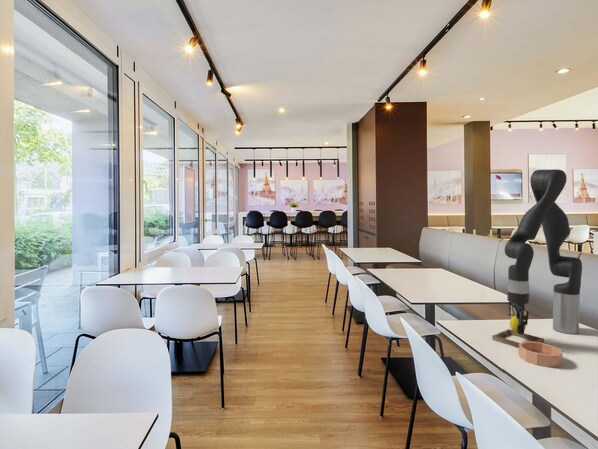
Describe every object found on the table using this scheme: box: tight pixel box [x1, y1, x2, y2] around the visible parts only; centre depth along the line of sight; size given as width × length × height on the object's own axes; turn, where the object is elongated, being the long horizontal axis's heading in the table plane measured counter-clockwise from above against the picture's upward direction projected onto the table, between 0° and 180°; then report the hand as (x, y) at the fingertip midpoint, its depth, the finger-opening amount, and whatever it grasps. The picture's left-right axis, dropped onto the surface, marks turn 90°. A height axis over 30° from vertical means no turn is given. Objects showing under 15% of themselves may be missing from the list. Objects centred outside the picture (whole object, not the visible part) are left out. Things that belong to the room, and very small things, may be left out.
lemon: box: [509, 316, 527, 334], centre depth 141 cm, size 6×6×8 cm
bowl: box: [518, 341, 564, 368], centre depth 124 cm, size 13×13×4 cm
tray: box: [491, 328, 545, 349], centre depth 141 cm, size 14×14×2 cm
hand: (517, 330), depth 141 cm, fingers closed on lemon, 5 cm apart
